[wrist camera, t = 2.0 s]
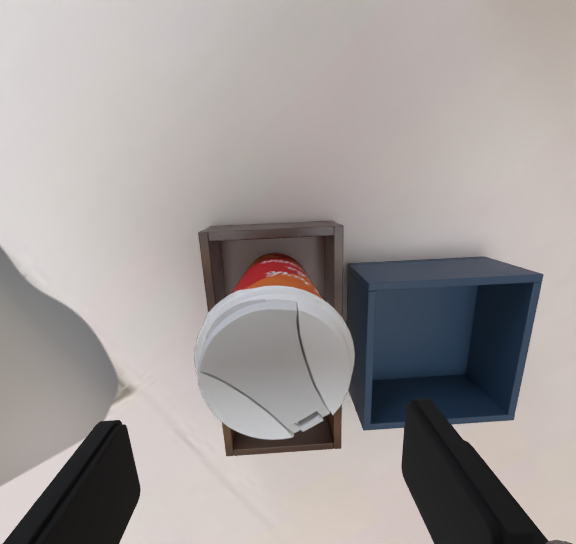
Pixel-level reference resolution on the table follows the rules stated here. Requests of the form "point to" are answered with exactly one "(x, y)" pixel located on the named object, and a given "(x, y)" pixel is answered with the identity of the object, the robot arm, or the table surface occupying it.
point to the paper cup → (273, 353)
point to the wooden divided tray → (330, 428)
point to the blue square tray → (439, 337)
